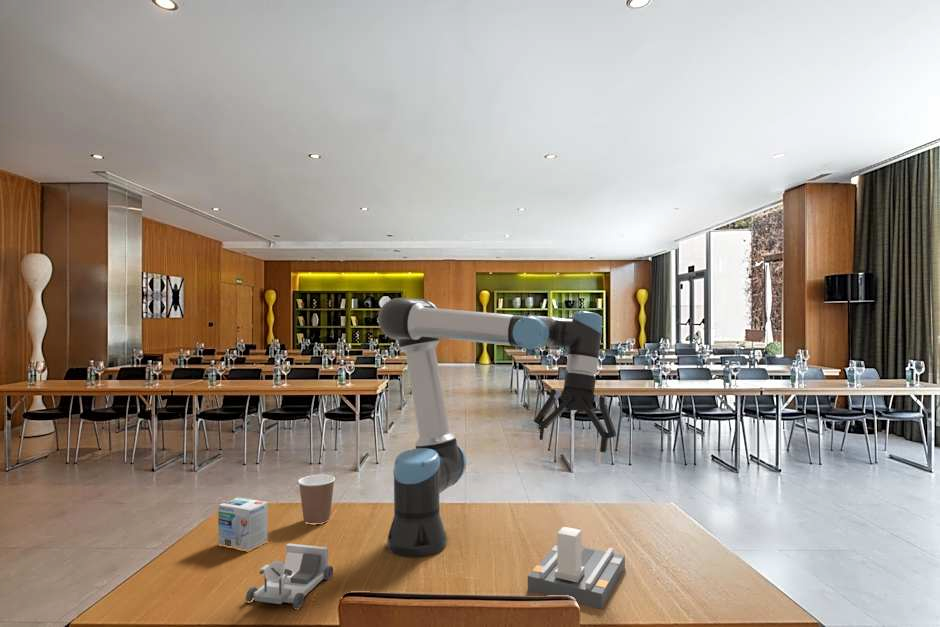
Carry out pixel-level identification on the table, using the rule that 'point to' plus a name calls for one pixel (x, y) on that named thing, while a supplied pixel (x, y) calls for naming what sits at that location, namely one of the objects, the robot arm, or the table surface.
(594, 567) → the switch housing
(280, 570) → the toy car
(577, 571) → the switch slider
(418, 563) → the table surface
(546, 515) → the table surface
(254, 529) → the light bulb box
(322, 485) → the coffee cup
